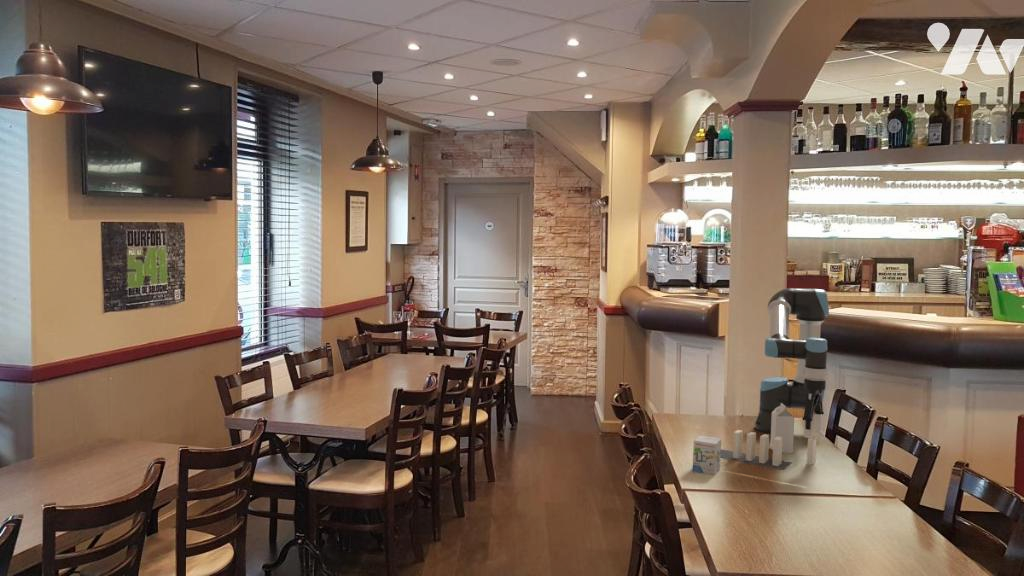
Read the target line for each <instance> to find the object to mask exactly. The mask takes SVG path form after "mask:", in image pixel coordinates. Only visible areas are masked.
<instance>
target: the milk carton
mask: <svg viewBox="0 0 1024 576" xmlns="http://www.w3.org/2000/svg"><path fill="white" fill-rule="evenodd" d="M794 432H795V416H794V415H793V414H792V413H791V412H790V411H789V410H788V409H787V410H786V406H785V405H783V404H782V403H781V405H780V406H779V407H777V408H775V410H774V411H773V412H772V419H771V433H770V442H769V444H770V445H769V446H770V448H769V449H771V450H772V451H773V439H774V438H776V437H777V436H779V437H783V439H782V453H785V454H787V453H789V454H793V453H794V434H795V433H794Z"/></svg>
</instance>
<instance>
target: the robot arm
mask: <svg viewBox="0 0 1024 576" xmlns="http://www.w3.org/2000/svg"><path fill="white" fill-rule="evenodd" d="M828 299H829V298H828V293H827V291H826V290H825V289H822V288H821V289H820V288H799V287H798V288H797V287H795V288H794V287H788V288H784V289H782V290H779V291H777V292H776V293H774V294H773V295H772V296H771V298H770V299H769V301H768V304H767V312H768V314H769V338H768V337H767V338H765V340H764V356H766V357H768V358H774V359H775V358H779V359H792V360H794V359H795V360H797V368H796V370H797V372H796V375H795V376H794V377H793V379H792V381H789V380H788V378H786V377H781V376H780V377H779V376H777V377H767V378H763V379H762V380H761V381H760V384H759V385H760V387H759V391H760V392H759V405H758V406H759V407H758V409H759V410H758V413H757V416H756V418H755V421H754V429H756V430H757V431H759V432H764V433H768V434H771V419H772V412H773V411H774V410H775V408H777V407H779V406H780V405H781V403H782V404H783V405H785V406H786V410H787V411H788V408H789V409H797V410H799V409H801V410H804V411H803V417H802V419H801V420H802V421H804V428H803V429H804V430H803V432H804V433H803V437H804V438H807V439H809V438H812V437H813V432H814V431H815V432H821V431H822V415H824V414H825V412H824V408H823V407H824V405H823V403H824V397H825V391H826V386H827V385H826V384H827V382H826V379H827V358H828V340H827V339H826V338H823V337H822V338H821V326H822V323H823V322H825V320H826V317H828V316H830V312H829V311H830V308H829V307H830V306H829V300H828ZM790 315H793V316H795V319H796V320H797V321H798V323H799V329H798V330H799V331H798V332H799V334H798V339H790Z"/></svg>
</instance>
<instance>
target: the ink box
mask: <svg viewBox="0 0 1024 576" xmlns="http://www.w3.org/2000/svg"><path fill="white" fill-rule="evenodd" d="M721 449H722V439H721V438H718V437H711V436H705V435H704V436H703V435H698V436H697V437H696V438H695V439H694V440H693V451H692V452H693V453H692V470H691V471H692V472H695V473H701V474H707V475H713V476H716V475H717V473H718V472H720V469H721V458H720V456H721Z"/></svg>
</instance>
